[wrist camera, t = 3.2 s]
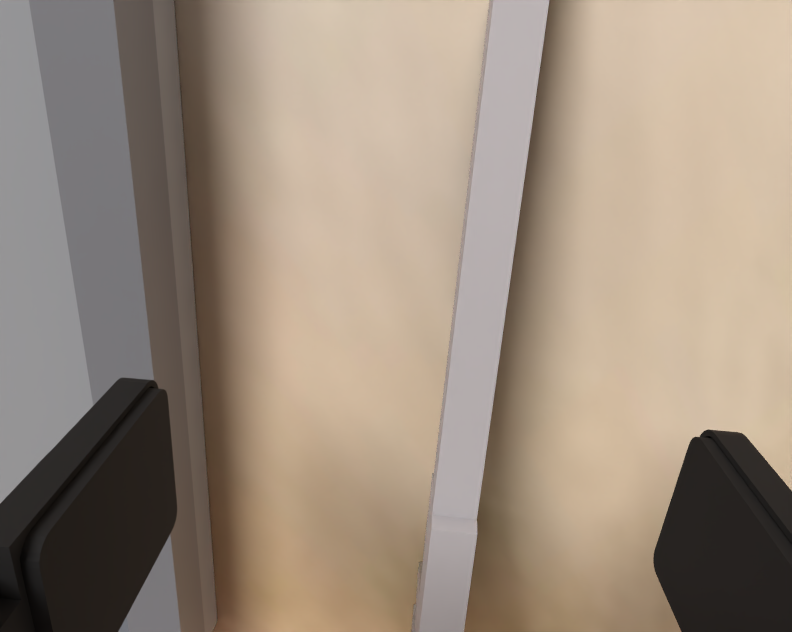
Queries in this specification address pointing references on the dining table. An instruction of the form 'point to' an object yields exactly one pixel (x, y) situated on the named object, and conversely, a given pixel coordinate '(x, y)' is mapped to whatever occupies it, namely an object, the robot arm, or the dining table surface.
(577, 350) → the dining table surface
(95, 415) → the robot arm
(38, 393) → the tool case
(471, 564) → the caliper
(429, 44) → the dining table surface
